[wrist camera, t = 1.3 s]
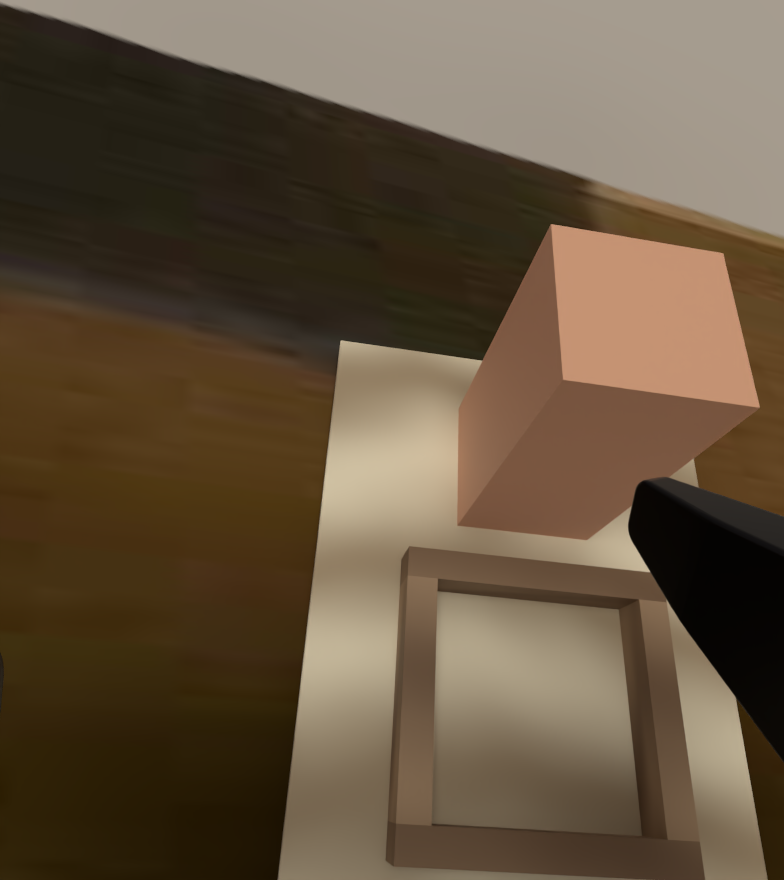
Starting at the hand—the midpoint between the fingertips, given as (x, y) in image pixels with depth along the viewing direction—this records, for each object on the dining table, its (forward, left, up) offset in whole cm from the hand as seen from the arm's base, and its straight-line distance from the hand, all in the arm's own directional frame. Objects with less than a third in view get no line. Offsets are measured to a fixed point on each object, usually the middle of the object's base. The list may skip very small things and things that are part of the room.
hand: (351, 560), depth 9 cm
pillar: (-4, -10, -13) cm, 18 cm away
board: (-6, -6, -14) cm, 17 cm away
